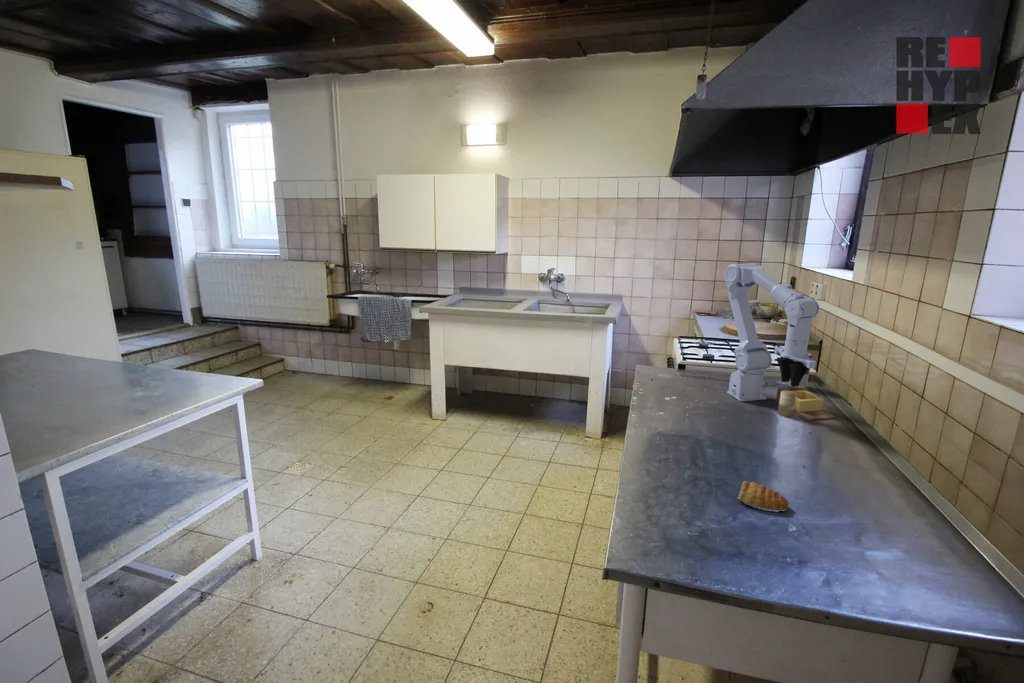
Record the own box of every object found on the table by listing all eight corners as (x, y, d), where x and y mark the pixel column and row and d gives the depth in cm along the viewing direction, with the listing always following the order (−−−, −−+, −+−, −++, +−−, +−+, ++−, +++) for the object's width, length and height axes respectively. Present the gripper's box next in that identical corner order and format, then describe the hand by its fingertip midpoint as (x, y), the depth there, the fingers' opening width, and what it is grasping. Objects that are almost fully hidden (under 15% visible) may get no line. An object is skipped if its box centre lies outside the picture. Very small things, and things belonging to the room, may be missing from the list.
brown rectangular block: (807, 420, 143) (810, 404, 142) (775, 401, 156) (777, 387, 155) (835, 418, 144) (838, 402, 143) (800, 400, 158) (803, 385, 156)
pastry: (788, 502, 105) (790, 487, 103) (785, 519, 99) (788, 503, 98) (740, 489, 109) (742, 474, 108) (735, 505, 104) (737, 489, 103)
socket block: (798, 412, 147) (800, 401, 146) (780, 401, 155) (782, 391, 154) (822, 410, 148) (824, 399, 147) (803, 400, 156) (804, 389, 155)
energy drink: (809, 389, 167) (815, 356, 163) (793, 389, 167) (799, 356, 163) (801, 383, 172) (806, 351, 169) (785, 383, 172) (791, 351, 169)
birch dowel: (783, 417, 145) (787, 395, 143) (774, 412, 149) (777, 390, 147) (795, 416, 146) (799, 394, 144) (786, 411, 150) (789, 390, 148)
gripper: (768, 333, 147) (762, 376, 151) (802, 347, 133) (795, 393, 137) (789, 332, 148) (782, 374, 152) (825, 345, 134) (817, 391, 138)
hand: (790, 383), depth 145 cm, fingers open, 3 cm apart
